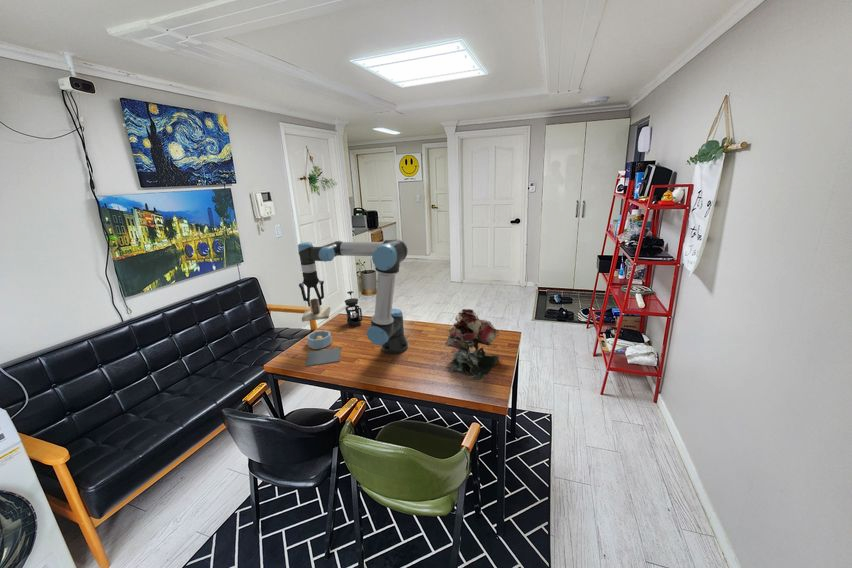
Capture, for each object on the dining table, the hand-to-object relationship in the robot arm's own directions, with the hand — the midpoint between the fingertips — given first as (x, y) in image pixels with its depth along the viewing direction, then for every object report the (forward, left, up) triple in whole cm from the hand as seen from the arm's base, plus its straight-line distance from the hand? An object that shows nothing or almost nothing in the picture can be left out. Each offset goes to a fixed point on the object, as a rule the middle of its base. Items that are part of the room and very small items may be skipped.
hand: (316, 311), depth 199 cm
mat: (-1, +10, -24) cm, 26 cm away
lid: (0, 0, -3) cm, 3 cm away
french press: (-19, -31, -24) cm, 44 cm away
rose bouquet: (-77, +39, -24) cm, 90 cm away
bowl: (+2, -7, -24) cm, 25 cm away
